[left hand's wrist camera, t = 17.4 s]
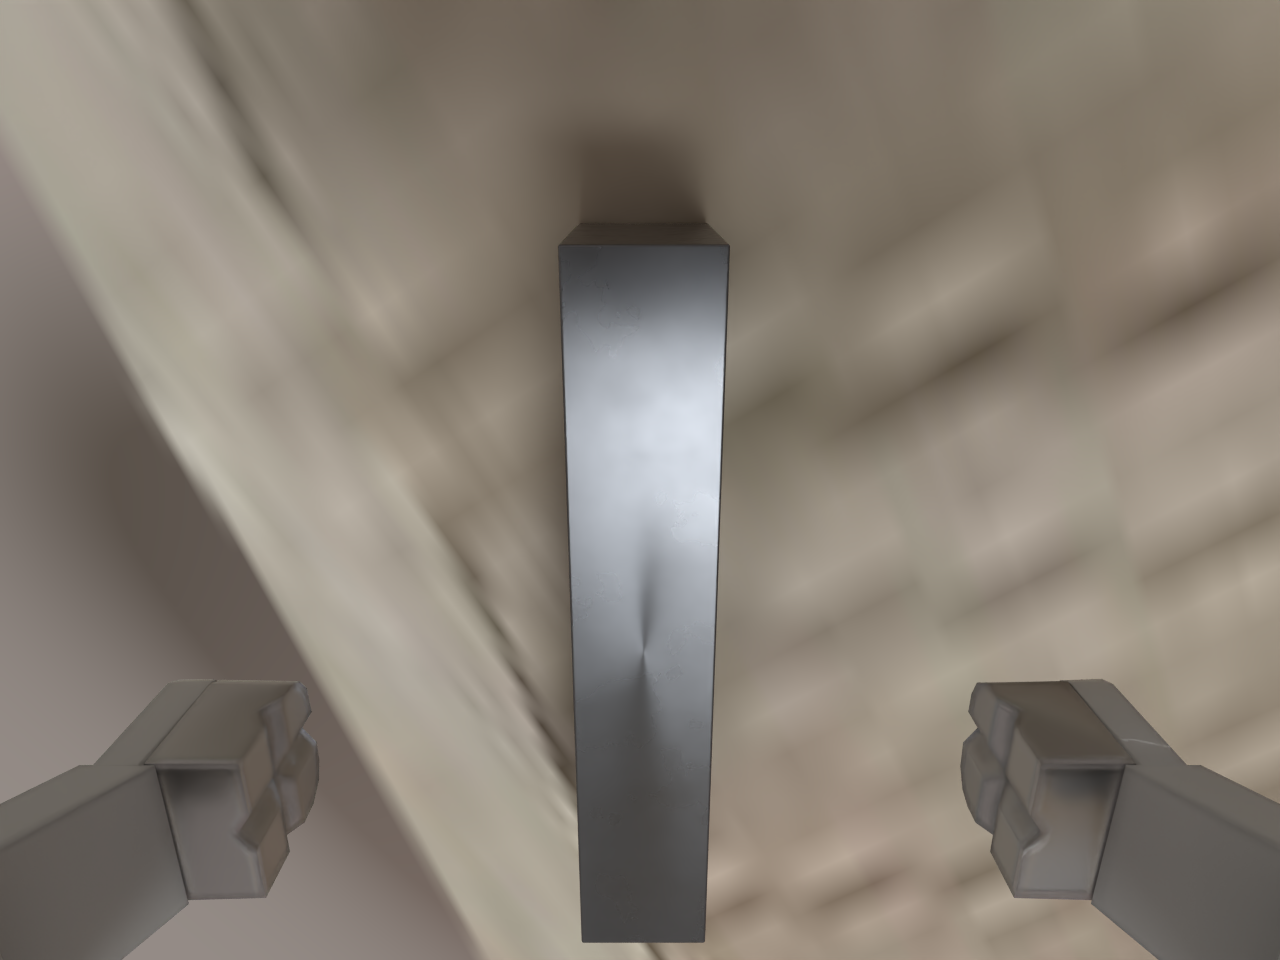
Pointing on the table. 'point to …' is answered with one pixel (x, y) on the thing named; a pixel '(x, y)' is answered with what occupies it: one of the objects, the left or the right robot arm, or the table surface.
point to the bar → (643, 564)
